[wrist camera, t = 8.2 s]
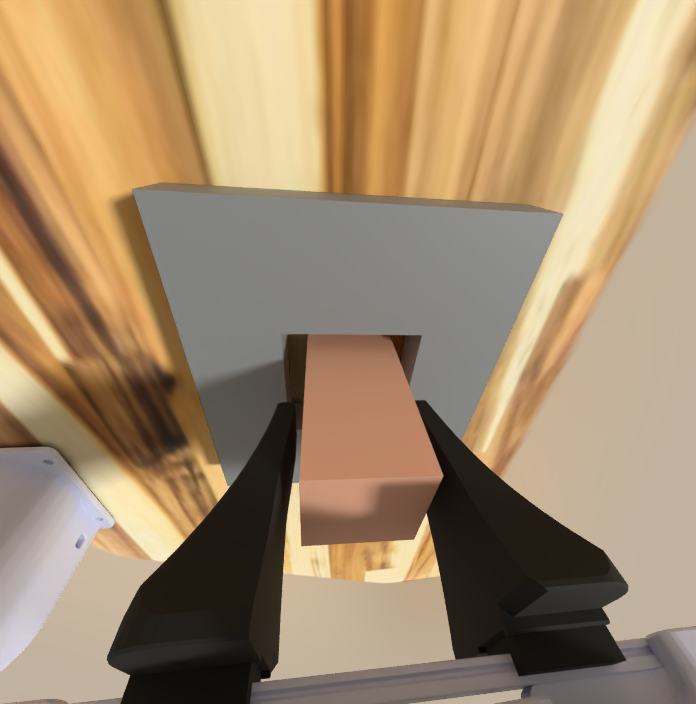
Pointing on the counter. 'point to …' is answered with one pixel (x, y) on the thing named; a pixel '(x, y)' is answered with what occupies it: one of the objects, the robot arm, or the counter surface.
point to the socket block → (336, 291)
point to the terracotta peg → (361, 445)
